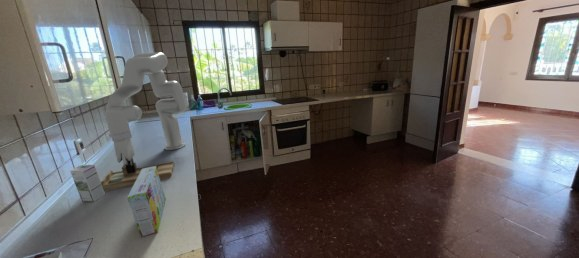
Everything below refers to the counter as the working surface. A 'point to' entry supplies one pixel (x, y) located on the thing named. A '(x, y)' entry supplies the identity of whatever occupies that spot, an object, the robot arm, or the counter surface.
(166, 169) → the tray
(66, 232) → the counter surface
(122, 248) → the counter surface
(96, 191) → the syrup box
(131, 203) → the snack box
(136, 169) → the block
